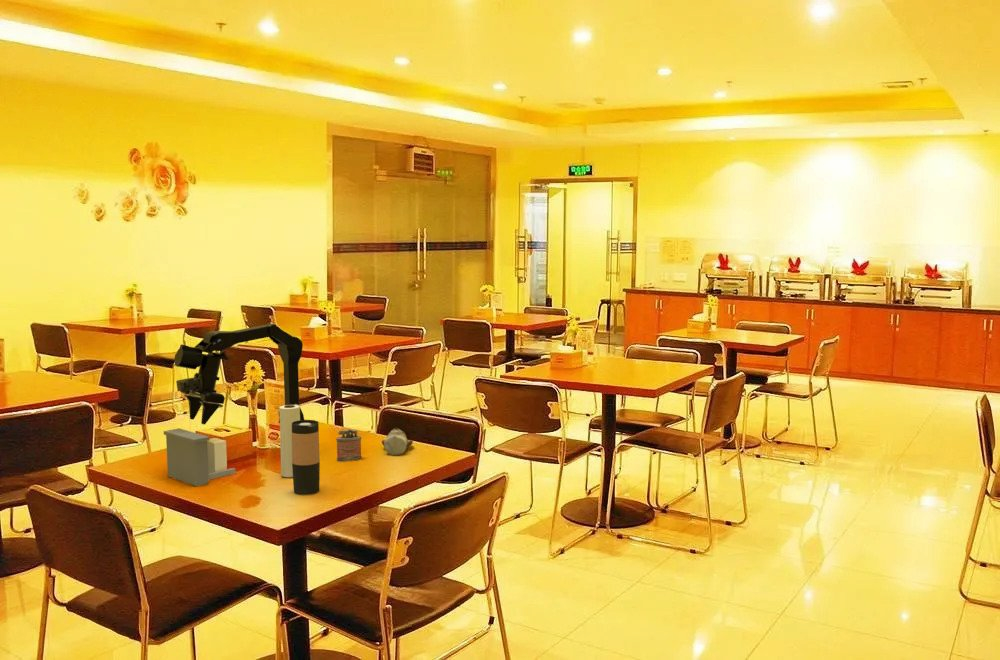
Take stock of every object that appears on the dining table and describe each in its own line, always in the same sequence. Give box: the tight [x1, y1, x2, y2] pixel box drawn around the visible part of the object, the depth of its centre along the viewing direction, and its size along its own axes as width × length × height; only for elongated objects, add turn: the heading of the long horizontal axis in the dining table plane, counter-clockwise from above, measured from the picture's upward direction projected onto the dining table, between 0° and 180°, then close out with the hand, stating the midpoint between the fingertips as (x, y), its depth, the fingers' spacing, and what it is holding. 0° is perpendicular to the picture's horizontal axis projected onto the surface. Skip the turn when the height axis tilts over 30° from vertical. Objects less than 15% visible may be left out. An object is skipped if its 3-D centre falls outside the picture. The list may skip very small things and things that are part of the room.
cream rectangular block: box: [207, 437, 228, 474], centre depth 264 cm, size 4×6×10 cm
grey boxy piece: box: [163, 428, 236, 487], centre depth 261 cm, size 16×17×14 cm
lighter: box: [335, 428, 362, 462], centre depth 281 cm, size 8×3×10 cm, turn 108°
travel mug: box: [292, 419, 321, 496], centre depth 246 cm, size 8×8×20 cm
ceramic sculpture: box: [381, 426, 414, 456], centre depth 292 cm, size 11×9×15 cm
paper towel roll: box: [278, 404, 301, 478], centre depth 262 cm, size 7×6×21 cm
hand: (197, 421), depth 265 cm, fingers open, 9 cm apart
